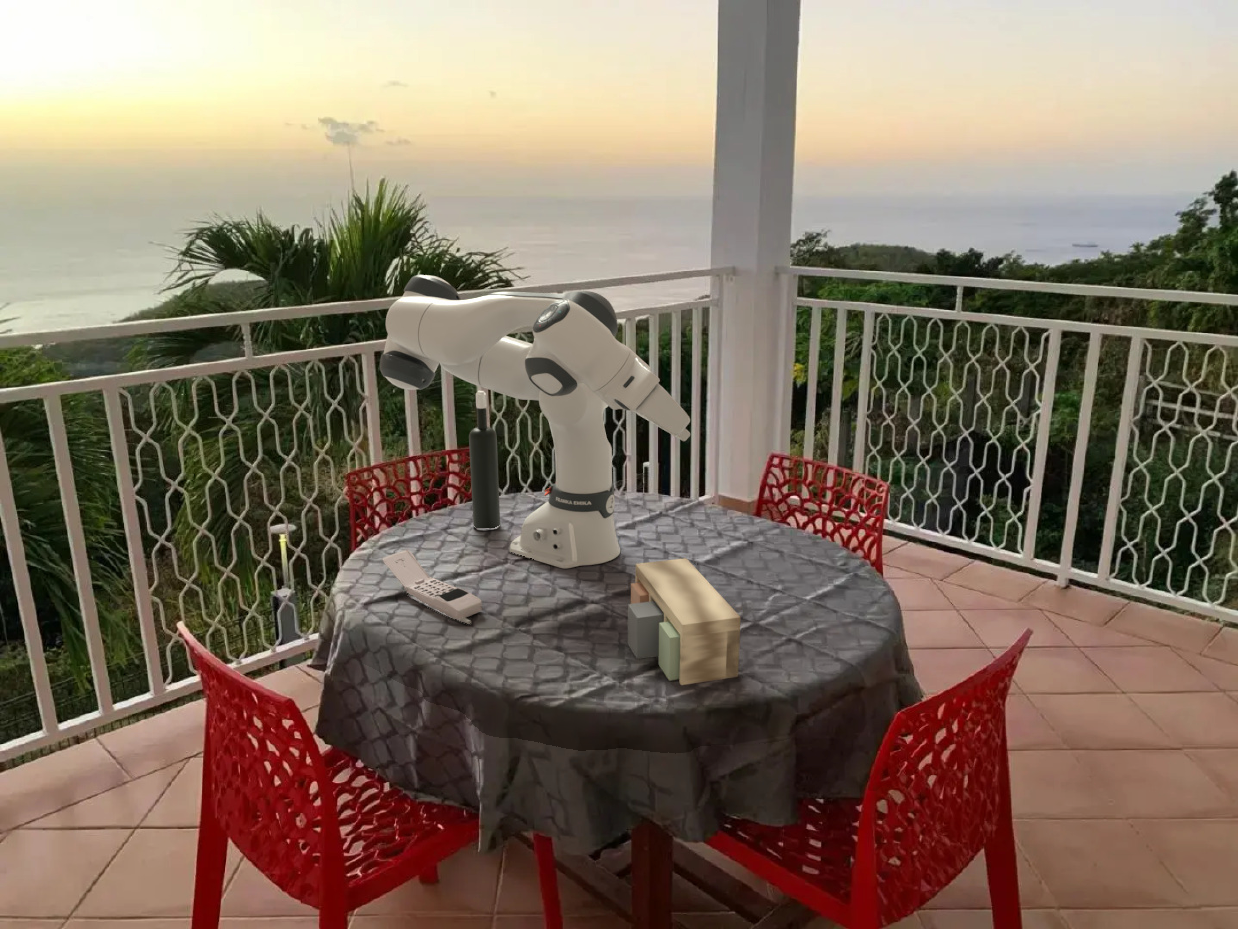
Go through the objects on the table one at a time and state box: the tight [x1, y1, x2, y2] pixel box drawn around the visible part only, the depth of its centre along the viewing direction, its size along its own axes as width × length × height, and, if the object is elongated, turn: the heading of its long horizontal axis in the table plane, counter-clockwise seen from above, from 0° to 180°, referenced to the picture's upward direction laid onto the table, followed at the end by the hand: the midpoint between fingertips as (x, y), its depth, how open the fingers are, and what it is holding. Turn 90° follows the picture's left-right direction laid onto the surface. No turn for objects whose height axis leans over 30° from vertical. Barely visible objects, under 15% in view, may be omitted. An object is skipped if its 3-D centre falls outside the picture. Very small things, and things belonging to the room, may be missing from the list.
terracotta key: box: [630, 582, 649, 604], centre depth 150 cm, size 7×5×7 cm
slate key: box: [627, 601, 664, 660], centre depth 142 cm, size 7×5×7 cm
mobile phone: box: [381, 549, 483, 625], centre depth 160 cm, size 6×6×25 cm
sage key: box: [658, 622, 680, 681], centre depth 136 cm, size 7×5×7 cm
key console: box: [634, 557, 741, 686], centre depth 143 cm, size 9×23×10 cm, turn 16°
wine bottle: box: [468, 390, 501, 528], centre depth 193 cm, size 6×6×30 cm
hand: (684, 436), depth 146 cm, fingers closed
